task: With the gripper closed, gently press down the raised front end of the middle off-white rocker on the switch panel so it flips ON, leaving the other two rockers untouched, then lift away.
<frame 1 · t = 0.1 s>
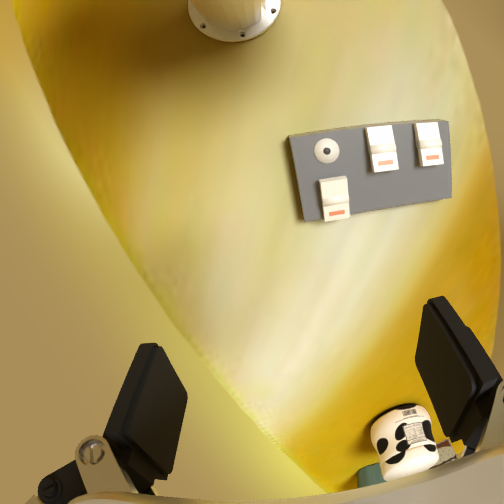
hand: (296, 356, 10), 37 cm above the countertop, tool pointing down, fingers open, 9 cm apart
switch panel: (374, 163, 42), on the countertop
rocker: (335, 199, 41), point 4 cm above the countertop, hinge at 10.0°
food container: (437, 446, 84), on the countertop
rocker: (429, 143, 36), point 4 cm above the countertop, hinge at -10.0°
flower pot: (372, 468, 89), on the countertop
milk container: (396, 416, 72), on the countertop
rocker mid: (382, 148, 37), point 4 cm above the countertop, hinge at -10.0°
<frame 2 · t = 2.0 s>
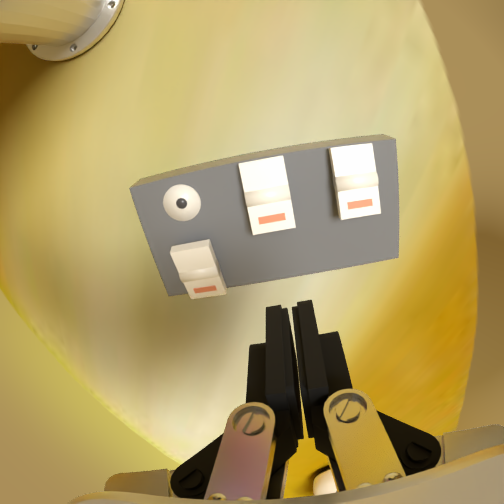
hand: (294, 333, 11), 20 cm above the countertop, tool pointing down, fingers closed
switch panel: (271, 210, 31), on the countertop
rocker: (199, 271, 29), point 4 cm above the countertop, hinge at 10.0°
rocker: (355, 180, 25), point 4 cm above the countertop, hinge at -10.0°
milk container: (345, 468, 62), on the countertop
rocker mid: (267, 195, 26), point 4 cm above the countertop, hinge at -10.0°
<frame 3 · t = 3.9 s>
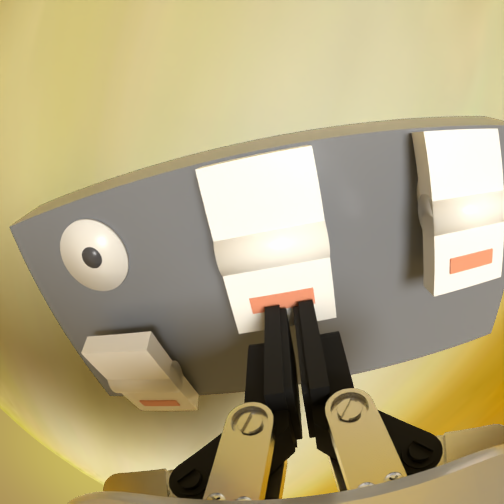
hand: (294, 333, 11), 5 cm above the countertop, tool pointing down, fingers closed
switch panel: (280, 260, 16), on the countertop
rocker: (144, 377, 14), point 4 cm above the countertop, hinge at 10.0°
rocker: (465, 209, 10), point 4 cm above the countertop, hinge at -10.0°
rocker mid: (272, 244, 11), point 4 cm above the countertop, hinge at -7.3°, touching gripper
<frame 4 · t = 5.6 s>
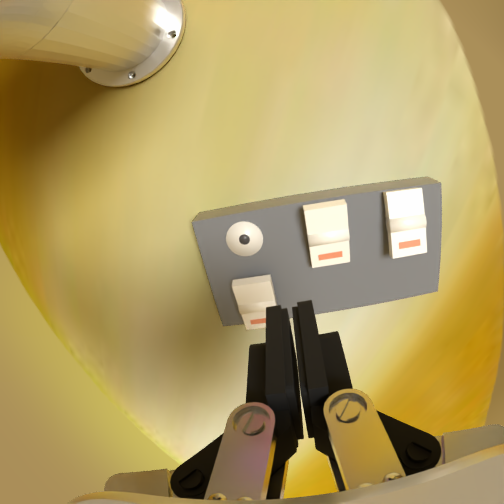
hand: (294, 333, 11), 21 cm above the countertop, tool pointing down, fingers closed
switch panel: (325, 247, 32), on the countertop
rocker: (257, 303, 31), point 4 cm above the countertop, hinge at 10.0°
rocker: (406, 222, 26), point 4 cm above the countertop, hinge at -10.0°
rocker mid: (327, 234, 27), point 4 cm above the countertop, hinge at 11.3°
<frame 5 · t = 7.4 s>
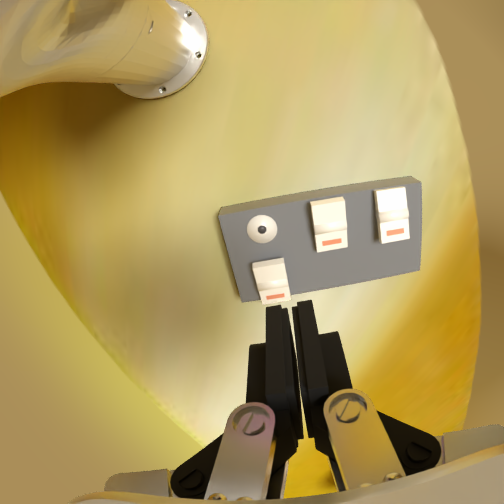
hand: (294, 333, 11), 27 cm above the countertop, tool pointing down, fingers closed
switch panel: (326, 234, 39), on the countertop
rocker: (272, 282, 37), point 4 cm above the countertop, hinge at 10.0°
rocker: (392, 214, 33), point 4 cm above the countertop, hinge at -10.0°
rocker mid: (329, 225, 34), point 4 cm above the countertop, hinge at 8.7°
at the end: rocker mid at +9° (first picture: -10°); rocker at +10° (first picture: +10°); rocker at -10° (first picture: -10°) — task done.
